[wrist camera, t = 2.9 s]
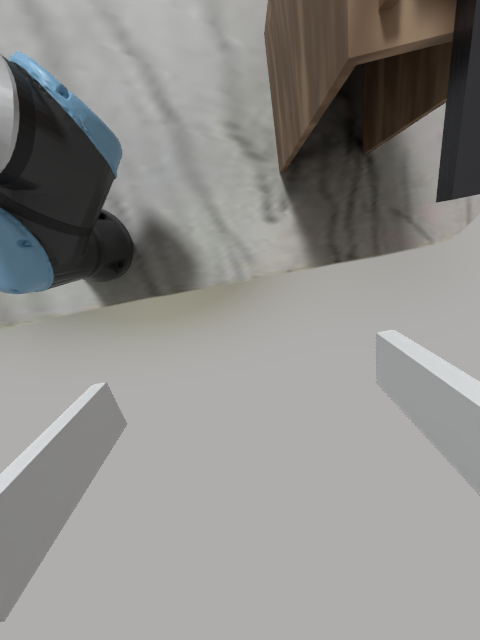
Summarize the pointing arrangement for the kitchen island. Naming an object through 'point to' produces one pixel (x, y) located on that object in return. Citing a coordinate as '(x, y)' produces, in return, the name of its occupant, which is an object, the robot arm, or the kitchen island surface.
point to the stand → (356, 63)
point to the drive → (462, 109)
